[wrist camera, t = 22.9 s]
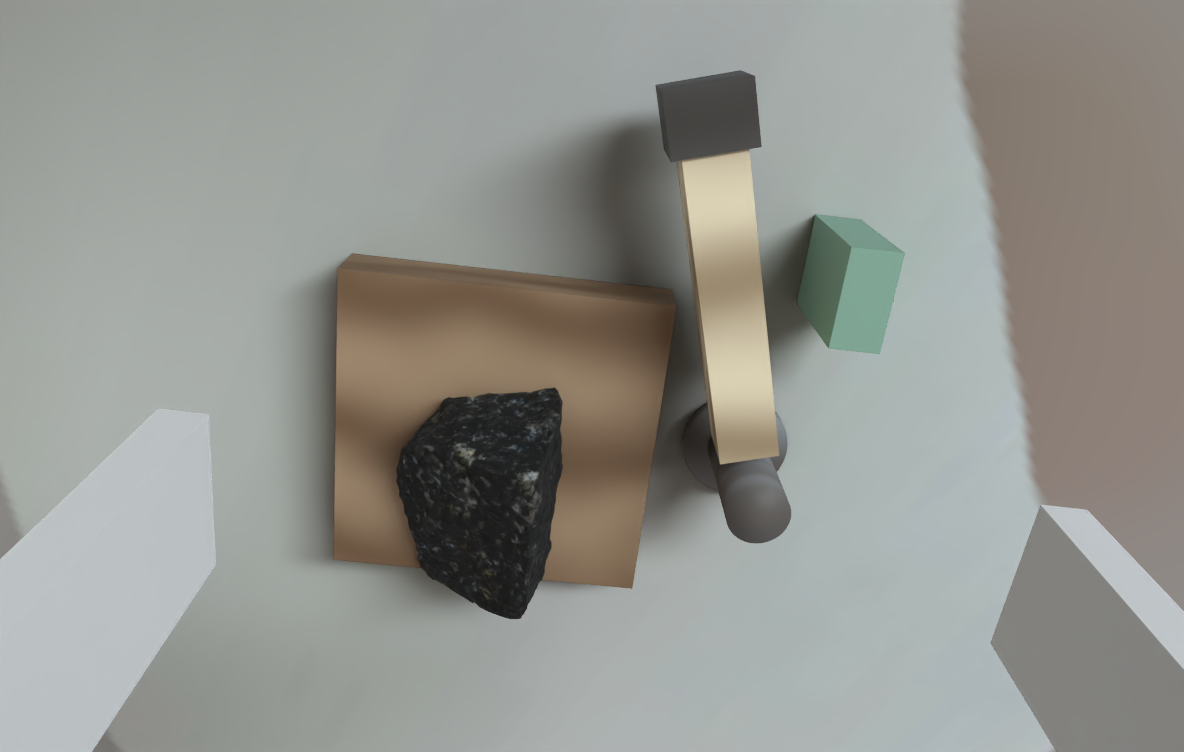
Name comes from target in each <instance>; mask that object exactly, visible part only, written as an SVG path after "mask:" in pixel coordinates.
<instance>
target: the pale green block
mask: <svg viewBox="0 0 1184 752" xmlns="http://www.w3.org/2000/svg"><path fill="white" fill-rule="evenodd" d="M904 255H905V253H904V252H903V251H901V250H900V249H899V248H897V247H896V246H895V245H894V244H892V243H891V242H890V241H888V240H887V239H886V238H884V237H883V236H882V235H880V234H879V233H878V232H876V231H875V230H874V229H873V228H871V227H870V226H869V225H867V224H866V223H865V222H863V221H862V220H858V219H849V218H841V217H832V216H824V215H815V219H814V223H813V228H812V233H811V238H810V242H809V247H808V252H807V257H806V262H805V266H804V271H803V276H802V281H801V285H800V290H799V295H798V300H797V305H798V306H799V308H800V309H801V310H802V312H803V313H804V315H805V316H806V317H807V319H808V320H809V322H810V323H811V324H812V326H813V327H814V329H815V330H816V331H817V333H818V334H819V336H820V337H821V338H822V340H823V341H824V343H825V344H826V345H827V347H828V348H829V349H838V350H847V351H856V352H865V353H874V354H880V351H881V347H882V343H883V339H884V335H885V331H886V327H887V323H888V319H889V315H890V311H891V307H892V303H893V299H894V295H895V291H896V287H897V283H898V279H899V275H900V271H901V267H902V263H903V259H904Z"/></svg>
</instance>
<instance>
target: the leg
mask: <svg viewBox="0 0 1184 752" xmlns="http://www.w3.org/2000/svg"><path fill="white" fill-rule="evenodd" d="M656 92H657V100H658V107H659V115H660V122H661V130H662V137H663V145H664V150H665V152H666V154H667V156H668V157H669V159H670V161H671V162H674V161H677V169H678V177H679V185H680V193H681V201H682V208H683V216H684V224H685V232H686V240H687V247H688V255H689V263H690V271H691V279H692V287H693V294H694V302H695V310H696V318H697V326H698V333H699V341H700V349H701V357H702V365H703V373H704V380H705V388H706V396H707V404H708V412H709V419H710V427H711V435H712V438H713V442H714V445H715V449H716V452H717V456H718V459H719V462H720V464H727V463H733V462H740V461H747V460H754V459H761V458H767V457H774V456H779V447H778V437H777V427H776V417H775V407H774V396H773V386H772V376H771V366H770V356H769V345H768V335H767V325H766V315H765V305H764V294H763V284H762V274H761V264H760V254H759V244H758V233H757V223H756V213H755V203H754V193H753V182H752V172H751V162H750V152H749V149H752V148H758V147H761V137H760V126H759V116H758V105H757V94H756V83H755V76H753V75H751V74H748V73H746V72H743V71H734V72H729V73H723V74H717V75H711V76H705V77H700V78H694V79H688V80H682V81H676V82H670V83H665V84H659V85H656Z"/></svg>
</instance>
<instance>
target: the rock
mask: <svg viewBox="0 0 1184 752" xmlns="http://www.w3.org/2000/svg"><path fill="white" fill-rule="evenodd" d="M562 403H563V401H562V399H561V397H560V395H559V392H558V390H557V389H556V388H555V387H554V388H545V389H541V390H537V391H533V392H517V393H499V394H493V393H487V394H484V395H482V394H481V395H477V396H474V397H466V396H465V397H457V398H451V397H448V398H446V399H444V400H443V402H442V403H441V405H440V406H439V408H438V409H437V411H436V412H435V413H434V414H433V415H432V416H430V417H429V418H428V419H427V420H426V421H425V422H424V423H423V424H422V425H421V426H420V427H419V429H418V430H417V431H416V432H415V433H414V435H413V437H412V438H411V440H410V441H409V442H408V443H407V444H406V445H405V446H404V447H403V448H402V450H401V454H400V458H399V463H398V465H397V470H396V473H397V479H396V483H397V485H398V488H399V497H400V498H401V499H402V502H403V505H404V513H405V515H406V517H407V518H408V525H409V529H410V531H411V535H412V537H413V539H414V542H415V546H416V551H417V557H416V558H417V560H418V562H419V564H420V567H421V568H422V569H423V570H424V571H426V573H427V575H428V576H429V577H430V578H432V579H433V580H437V581H439V582H440V583H442V584H444V585H445V586H447V587H448V588H450V589H451V590H453V591H454V592H456V593H457V594H459V595H461V596H462V597H464V598H466V599H468V600H469V601H470V602H472V603H474V602H475V603H476V604H477V605H478V606H479V607H480V608H482V609H484V610H486V611H488V612H491V613H494V614H496V615H499V616H502V617H505V618H509V619H520V618H521V617H522V615H523V614H524V612H525V611H526V609H527V605H528V603H529V602H530V600H531V598H532V597H533V595H534V592H535V590H536V588H537V586H538V583H539V582H540V581H541V580H542V578H543V576H544V573H545V564H546V560H547V558H548V555H549V553H550V550H551V548H552V542H551V540H550V533H551V523H552V519H553V515H554V511H555V503H556V492H557V487H558V483H559V480H560V478H561V473H562V469H563V464H562V457H563V456H562V452H561V446H562V437H561V431H560V427H561V422H562Z"/></svg>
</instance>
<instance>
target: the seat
mask: <svg viewBox="0 0 1184 752" xmlns="http://www.w3.org/2000/svg"><path fill="white" fill-rule="evenodd" d="M676 309H677V305H676V302H675V299H674V295H673V292H672V289H663V288H654V287H645V286H636V285H627V284H618V283H609V282H600V281H592V280H583V279H574V278H565V277H556V276H547V275H538V274H529V273H521V272H512V271H503V270H494V269H485V268H476V267H467V266H458V265H450V264H441V263H432V262H423V261H414V260H405V259H396V258H387V257H379V256H370V255H361V254H352V255H351V256H350V257H349V258H348V259H347V260H346V261H345V262H344V263H343V264H342V265H341V266H340V267H339V268H338V276H337V350H336V423H335V497H334V560H344V561H354V562H365V563H375V564H385V565H396V566H406V567H416V568H421V567H420V564H419V562H418V560H417V558H416V557H417V551H416V546H415V542H414V539H413V537H412V535H411V531H410V529H409V525H408V518H407V517H406V515H405V513H404V505H403V502H402V499H401V498H400V497H399V488H398V485H397V483H396V479H397V473H396V470H397V465H398V463H399V458H400V454H401V450H402V448H403V447H404V446H405V445H406V444H407V443H408V442H409V441H410V440H411V438H412V437H413V435H414V433H415V432H416V431H417V430H418V429H419V427H420V426H421V425H422V424H423V423H424V422H425V421H426V420H427V419H428V418H429V417H430V416H432V415H433V414H434V413H435V412H436V411H437V409H438V408H439V406H440V405H441V403H442V402H443V400H444V399H446V398H448V397H451V398H457V397H465V396H466V397H474V396H477V395H481V394H482V395H484V394H487V393H493V394H499V393H517V392H533V391H537V390H541V389H545V388H554V387H555V388H556V389H557V390H558V392H559V395H560V397H561V399H562V401H563V403H562V422H561V427H560V431H561V437H562V446H561V452H562V456H563V457H562V464H563V469H562V473H561V478H560V480H559V483H558V487H557V492H556V503H555V511H554V515H553V519H552V523H551V533H550V540H551V542H552V548H551V550H550V553H549V555H548V558H547V560H546V564H545V573H544V576H543V578H542V580H550V581H560V582H570V583H581V584H591V585H601V586H611V587H622V588H632V586H633V580H634V574H635V567H636V561H637V555H638V548H639V542H640V536H641V529H642V523H643V517H644V510H645V504H646V498H647V492H648V485H649V479H650V473H651V466H652V460H653V454H654V447H655V441H656V435H657V429H658V422H659V416H660V410H661V403H662V397H663V391H664V384H665V378H666V372H667V366H668V359H669V353H670V347H671V340H672V334H673V328H674V321H675V315H676ZM775 417H776V427H777V437H778V447H779V456H774V457H767V458H761V459H754V460H747V461H740V462H733V463H727V464H720V462H719V459H718V456H717V452H716V449H715V445H714V442H713V438H712V435H711V427H710V419H709V412H708V404H707V403H706V404H704V405H703V406H702V407H700V408H699V409H698V410H697V411H696V412H695V413H694V414H693V416H692V417H691V418H690V420H689V422H688V423H687V426H686V428H685V431H684V435H683V450H684V455H685V460H686V463H687V465H688V467H689V469H690V471H691V472H692V474H693V475H694V476H695V477H696V478H697V479H698V480H699V481H700V482H702V483H703V484H705V485H706V486H708V487H710V488H712V489H715V490H718V492H719V495H720V499H721V503H722V506H723V510H724V514H725V518H726V521H727V525H728V527H729V529H730V531H731V532H732V533H733V534H734V535H735V536H736V537H737V538H739V539H741V540H743V541H745V542H749V543H764V542H768V541H770V540H773V539H775V538H776V537H778V536H779V535H781V534H782V533H783V532H784V530H785V529H786V528H787V526H788V524H789V522H790V518H791V508H790V505H789V502H788V500H787V497H786V495H785V492H784V490H783V487H782V485H781V482H780V480H779V477H778V475H777V471H778V469H779V468H780V466H781V465H782V463H783V461H784V458H785V455H786V451H787V435H786V431H785V428H784V426H783V424H782V422H781V420H780V418H779V416H778V415H777V413H776V412H775Z"/></svg>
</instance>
